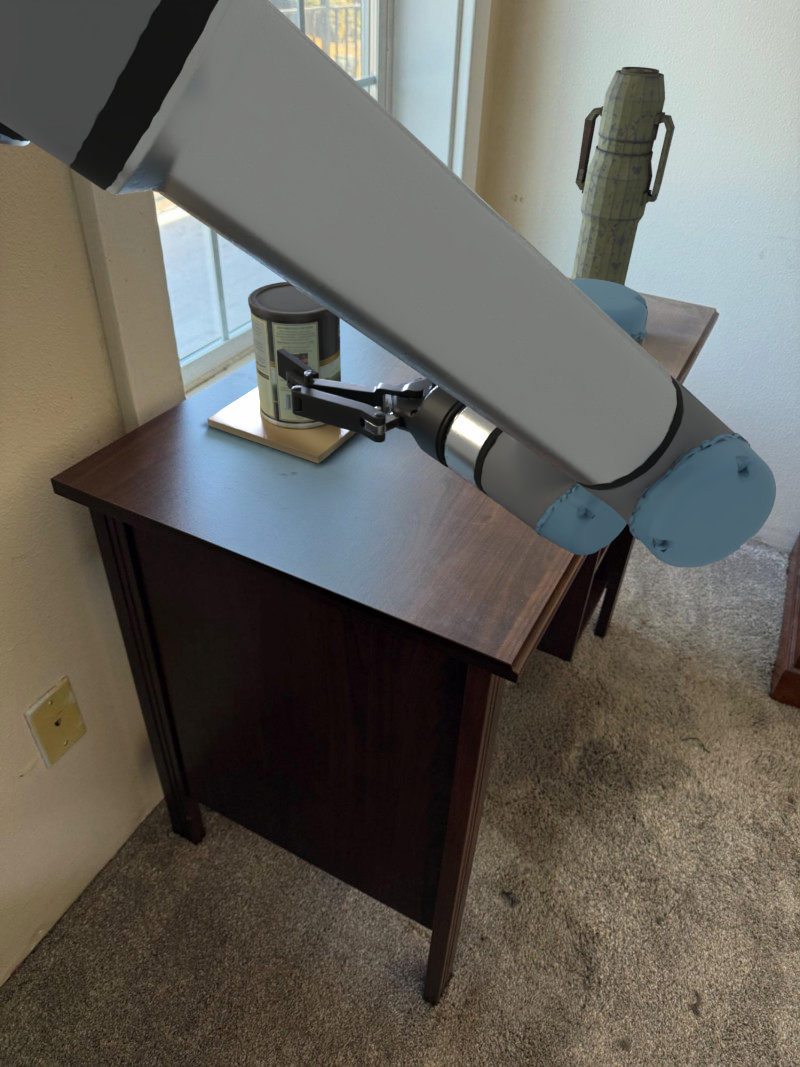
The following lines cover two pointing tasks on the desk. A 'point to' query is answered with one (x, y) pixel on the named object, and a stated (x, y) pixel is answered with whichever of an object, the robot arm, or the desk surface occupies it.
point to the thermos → (619, 172)
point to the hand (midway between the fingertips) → (337, 346)
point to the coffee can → (291, 346)
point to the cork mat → (278, 430)
